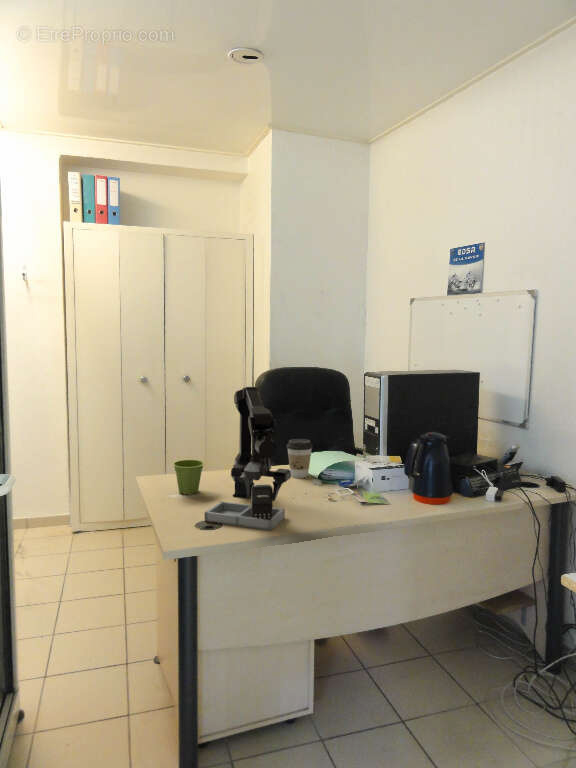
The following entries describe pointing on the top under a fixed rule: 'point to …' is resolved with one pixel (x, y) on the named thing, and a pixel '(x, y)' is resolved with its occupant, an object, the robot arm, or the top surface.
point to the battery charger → (262, 501)
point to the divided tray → (242, 516)
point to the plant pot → (188, 475)
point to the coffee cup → (299, 457)
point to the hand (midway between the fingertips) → (260, 499)
